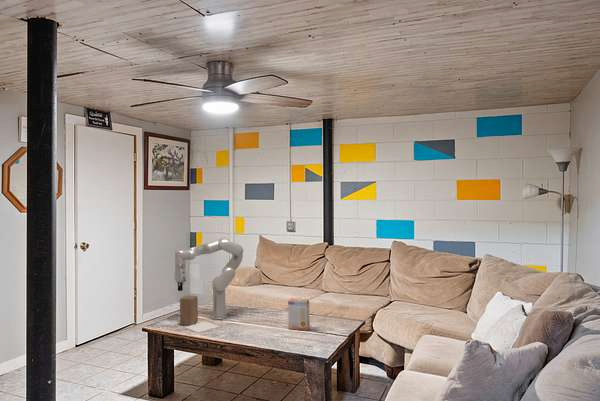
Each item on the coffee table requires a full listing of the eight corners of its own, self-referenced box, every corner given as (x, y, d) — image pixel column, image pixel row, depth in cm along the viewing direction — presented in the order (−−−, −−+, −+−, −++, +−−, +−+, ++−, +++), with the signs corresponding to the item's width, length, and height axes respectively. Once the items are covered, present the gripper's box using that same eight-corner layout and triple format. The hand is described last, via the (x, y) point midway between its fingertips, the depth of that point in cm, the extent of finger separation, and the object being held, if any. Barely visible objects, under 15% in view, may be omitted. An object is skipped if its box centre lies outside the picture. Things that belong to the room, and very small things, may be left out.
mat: (205, 322, 327) (205, 321, 327) (219, 327, 314) (219, 326, 314) (184, 327, 314) (184, 327, 314) (198, 333, 302) (198, 332, 302)
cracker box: (309, 328, 309) (309, 299, 308) (307, 331, 303) (306, 301, 303) (291, 326, 313) (290, 297, 313) (288, 329, 307) (287, 299, 307)
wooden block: (192, 326, 318) (192, 298, 318) (179, 325, 320) (179, 298, 320) (198, 322, 328) (197, 295, 328) (186, 321, 330) (185, 295, 330)
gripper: (189, 267, 329) (189, 291, 329) (179, 264, 339) (179, 288, 339) (181, 268, 324) (181, 293, 324) (170, 266, 334) (170, 290, 334)
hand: (180, 290), depth 332 cm, fingers closed
